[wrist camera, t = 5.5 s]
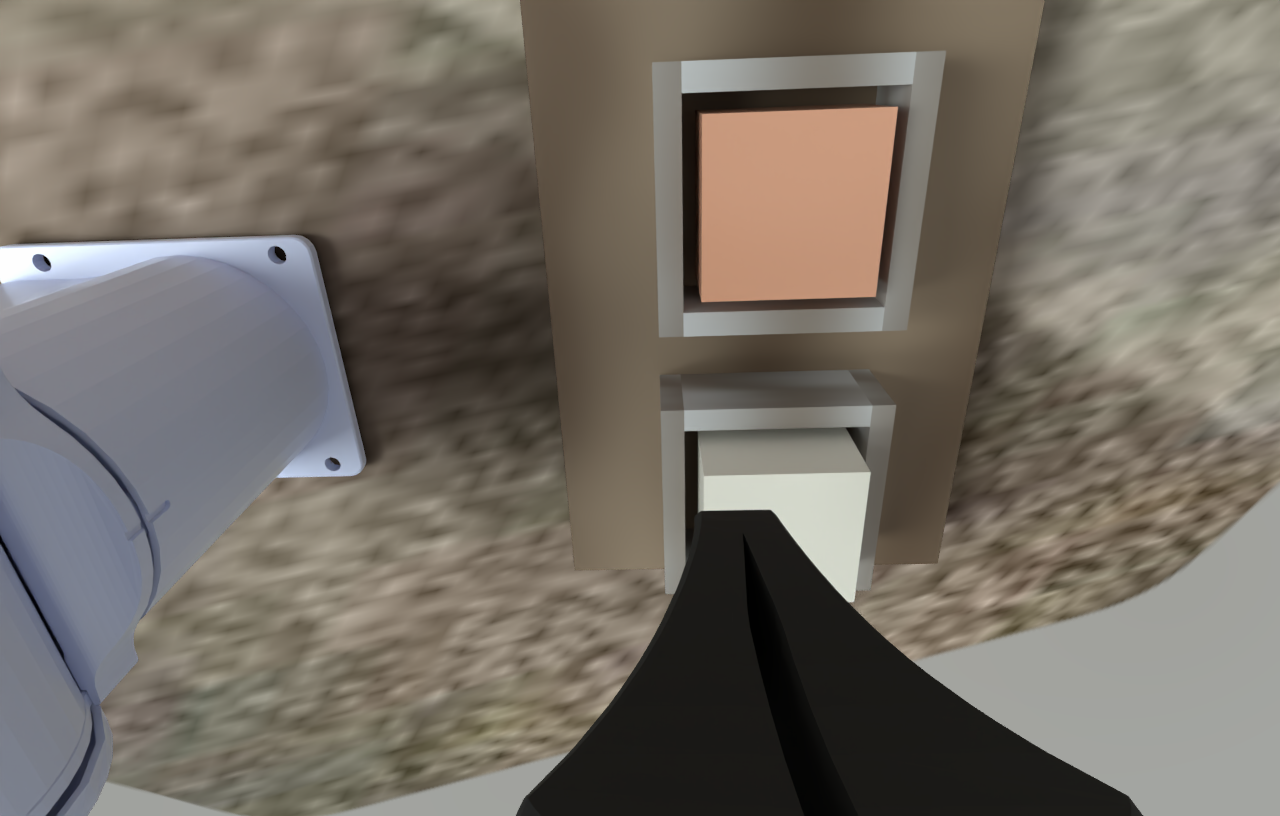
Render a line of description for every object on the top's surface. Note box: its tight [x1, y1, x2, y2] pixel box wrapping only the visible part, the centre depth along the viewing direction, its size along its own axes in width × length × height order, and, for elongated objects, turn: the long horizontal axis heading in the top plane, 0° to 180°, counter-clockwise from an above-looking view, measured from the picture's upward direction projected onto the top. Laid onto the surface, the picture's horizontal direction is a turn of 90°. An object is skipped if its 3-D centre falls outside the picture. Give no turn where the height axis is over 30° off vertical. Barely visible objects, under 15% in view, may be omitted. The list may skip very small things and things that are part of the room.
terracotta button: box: [695, 104, 898, 302], centre depth 16 cm, size 4×4×2 cm
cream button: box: [698, 427, 871, 602], centre depth 18 cm, size 4×4×2 cm
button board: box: [520, 0, 1045, 594], centre depth 17 cm, size 12×24×4 cm, turn 2°
